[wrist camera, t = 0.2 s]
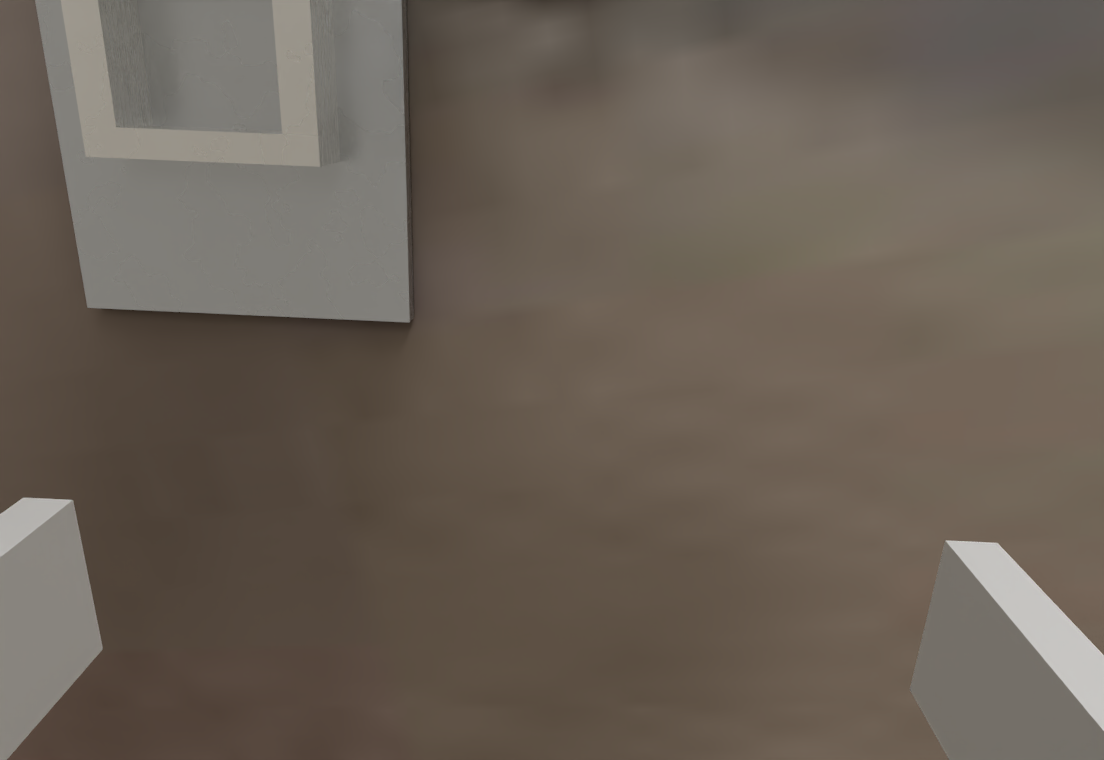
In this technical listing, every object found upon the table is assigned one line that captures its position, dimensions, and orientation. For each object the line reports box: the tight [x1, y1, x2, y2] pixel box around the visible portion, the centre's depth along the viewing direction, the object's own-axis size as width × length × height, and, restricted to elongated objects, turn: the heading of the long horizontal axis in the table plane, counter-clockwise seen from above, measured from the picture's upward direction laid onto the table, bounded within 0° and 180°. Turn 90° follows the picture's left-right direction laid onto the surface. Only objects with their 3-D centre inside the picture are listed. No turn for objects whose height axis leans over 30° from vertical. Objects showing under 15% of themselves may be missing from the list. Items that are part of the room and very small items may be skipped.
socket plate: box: [35, 0, 414, 323], centre depth 34 cm, size 20×16×4 cm
